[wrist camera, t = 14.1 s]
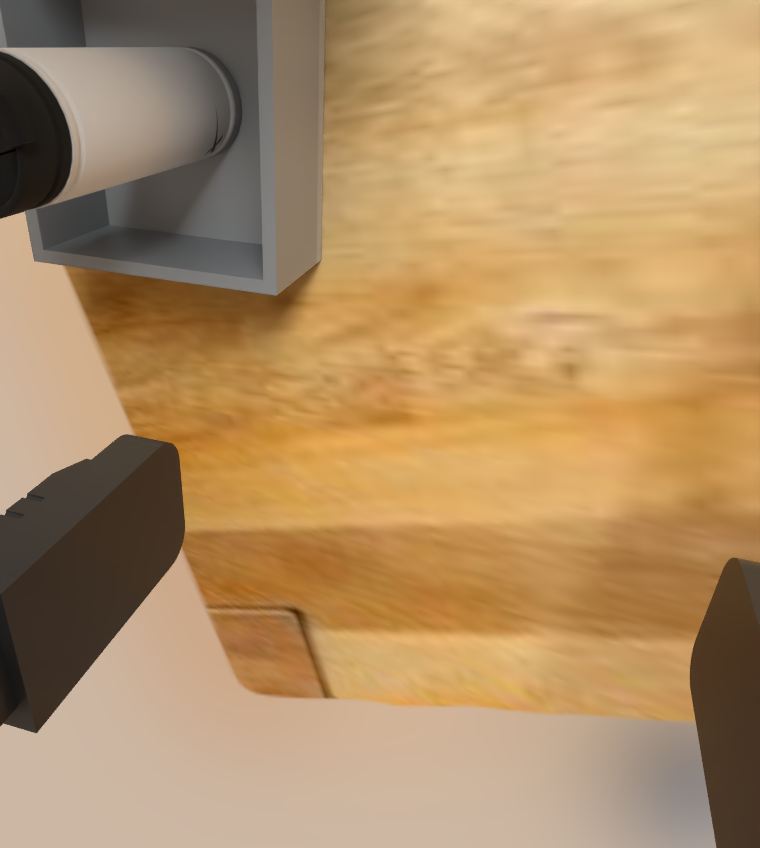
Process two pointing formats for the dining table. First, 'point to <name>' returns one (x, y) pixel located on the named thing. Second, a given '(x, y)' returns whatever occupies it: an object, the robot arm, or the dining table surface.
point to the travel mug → (106, 118)
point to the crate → (209, 178)
